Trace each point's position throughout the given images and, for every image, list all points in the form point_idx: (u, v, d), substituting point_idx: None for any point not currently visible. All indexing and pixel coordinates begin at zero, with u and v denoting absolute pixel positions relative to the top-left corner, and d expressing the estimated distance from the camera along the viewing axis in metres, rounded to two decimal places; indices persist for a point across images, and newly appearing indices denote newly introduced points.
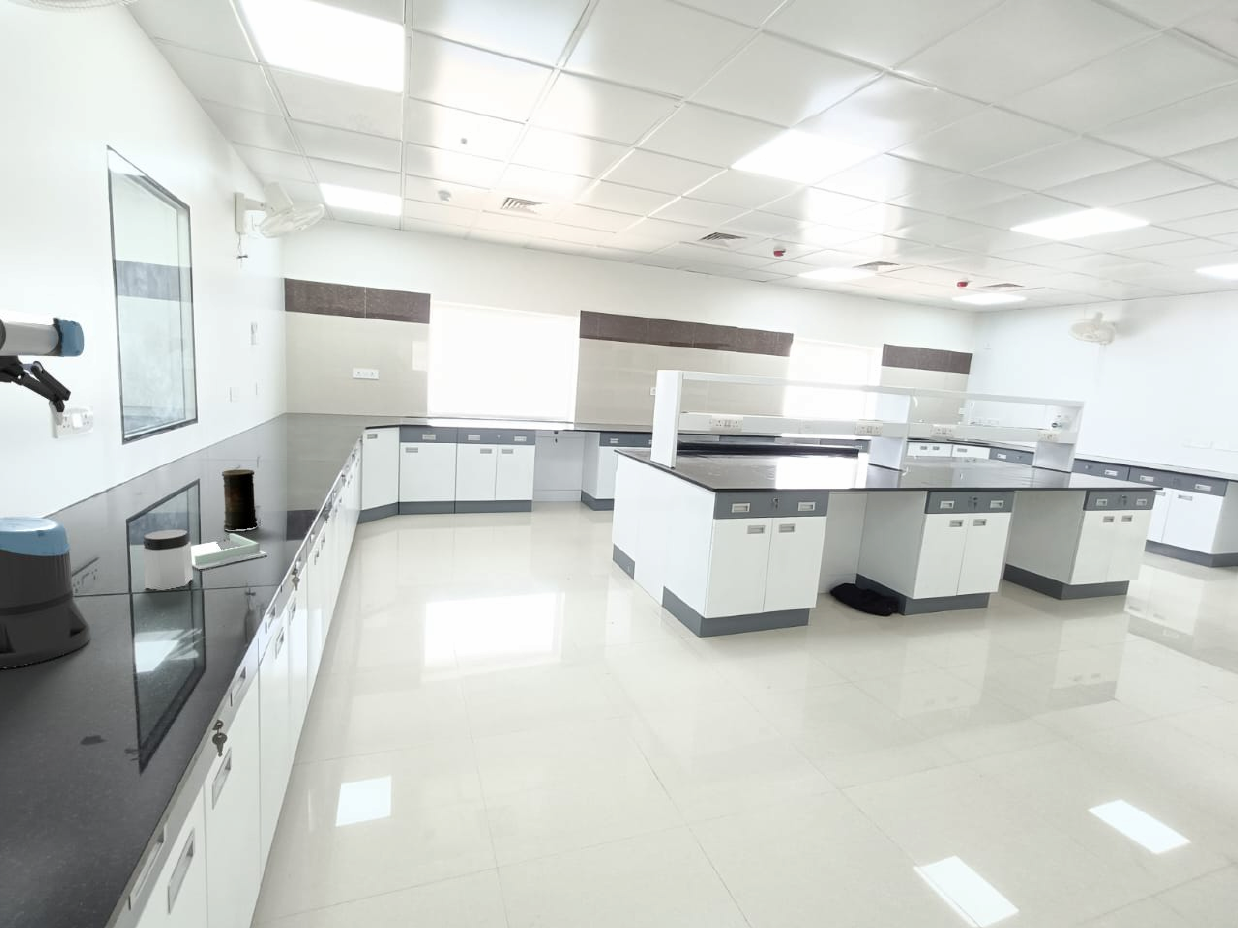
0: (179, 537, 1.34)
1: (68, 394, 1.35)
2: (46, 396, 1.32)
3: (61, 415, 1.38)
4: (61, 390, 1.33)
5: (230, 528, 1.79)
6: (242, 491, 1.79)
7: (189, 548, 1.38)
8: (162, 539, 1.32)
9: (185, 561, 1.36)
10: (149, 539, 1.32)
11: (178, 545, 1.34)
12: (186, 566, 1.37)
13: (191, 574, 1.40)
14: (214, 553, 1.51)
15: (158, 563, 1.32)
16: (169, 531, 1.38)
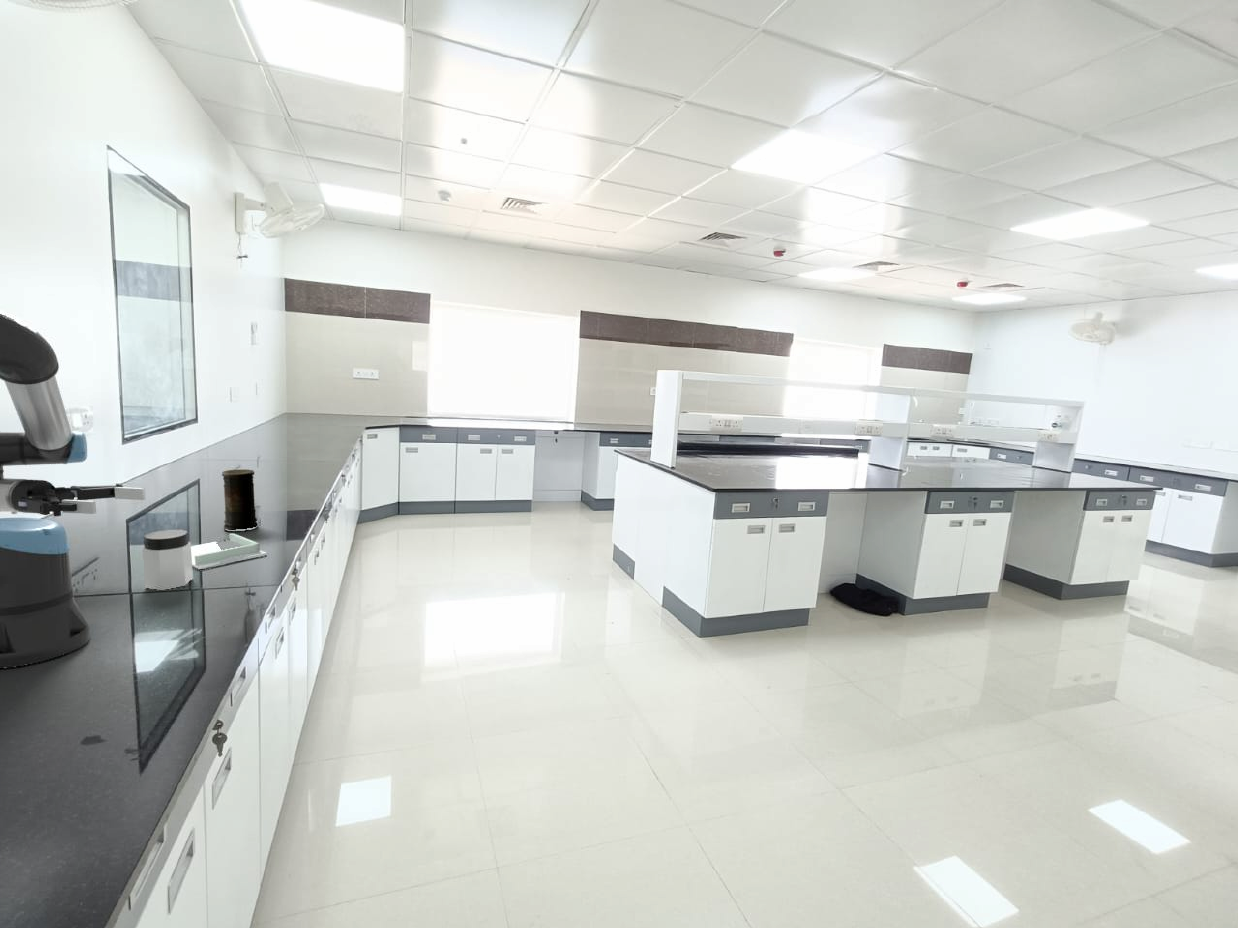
0: (179, 537, 1.35)
1: None
2: (106, 487, 1.40)
3: None
4: None
5: (230, 528, 1.79)
6: (242, 491, 1.79)
7: (189, 548, 1.38)
8: (162, 539, 1.32)
9: (185, 561, 1.36)
10: (149, 539, 1.32)
11: (178, 545, 1.34)
12: (186, 566, 1.37)
13: (191, 574, 1.40)
14: (214, 553, 1.51)
15: (158, 563, 1.32)
16: (169, 531, 1.38)
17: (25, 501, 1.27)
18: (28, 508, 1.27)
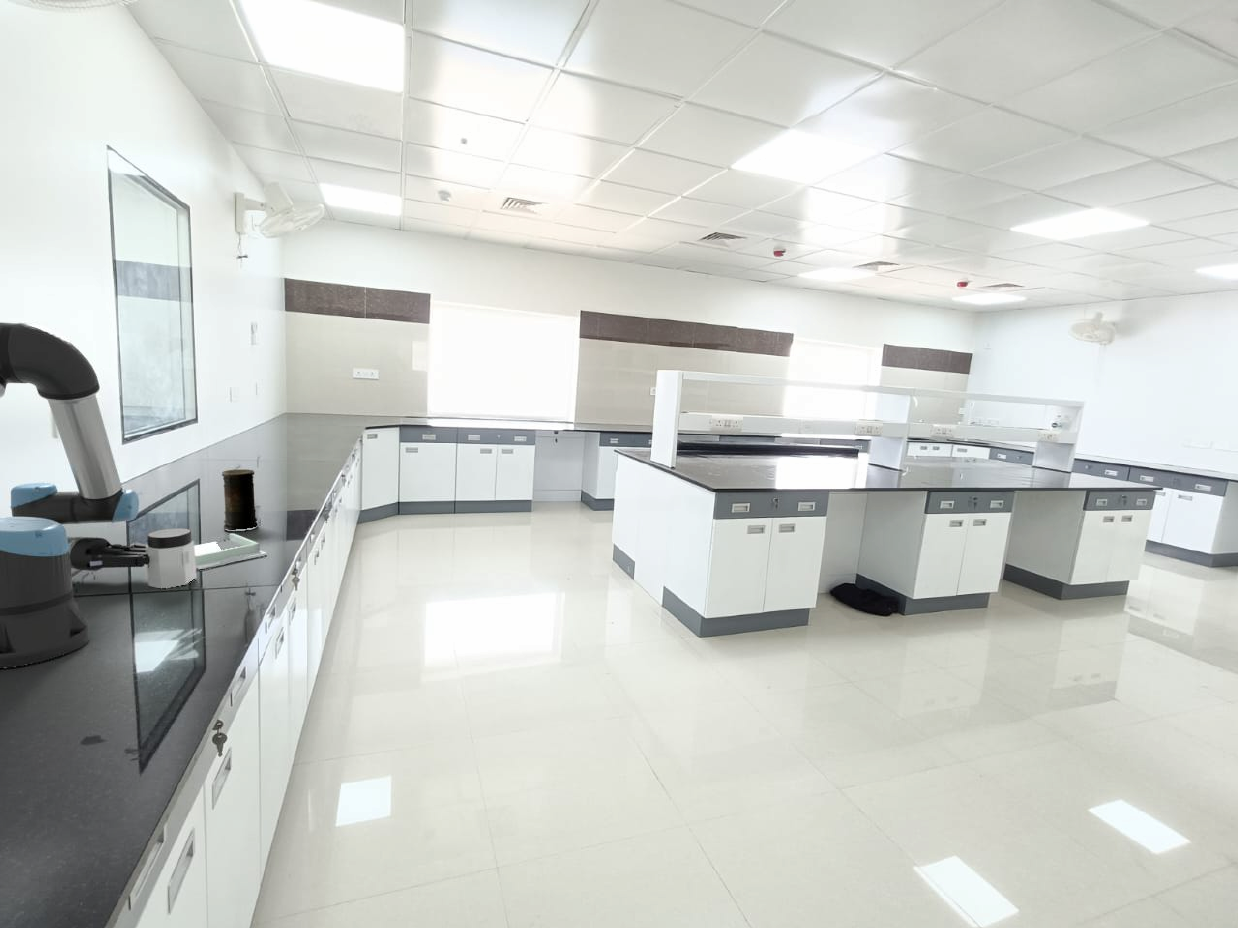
0: (179, 536, 1.35)
1: None
2: None
3: None
4: None
5: (230, 528, 1.79)
6: (242, 491, 1.79)
7: (191, 547, 1.39)
8: (162, 538, 1.33)
9: None
10: (150, 537, 1.33)
11: (178, 544, 1.35)
12: (187, 565, 1.37)
13: (194, 573, 1.40)
14: (214, 553, 1.51)
15: (158, 561, 1.33)
16: (174, 530, 1.39)
17: (102, 559, 1.31)
18: (107, 565, 1.31)
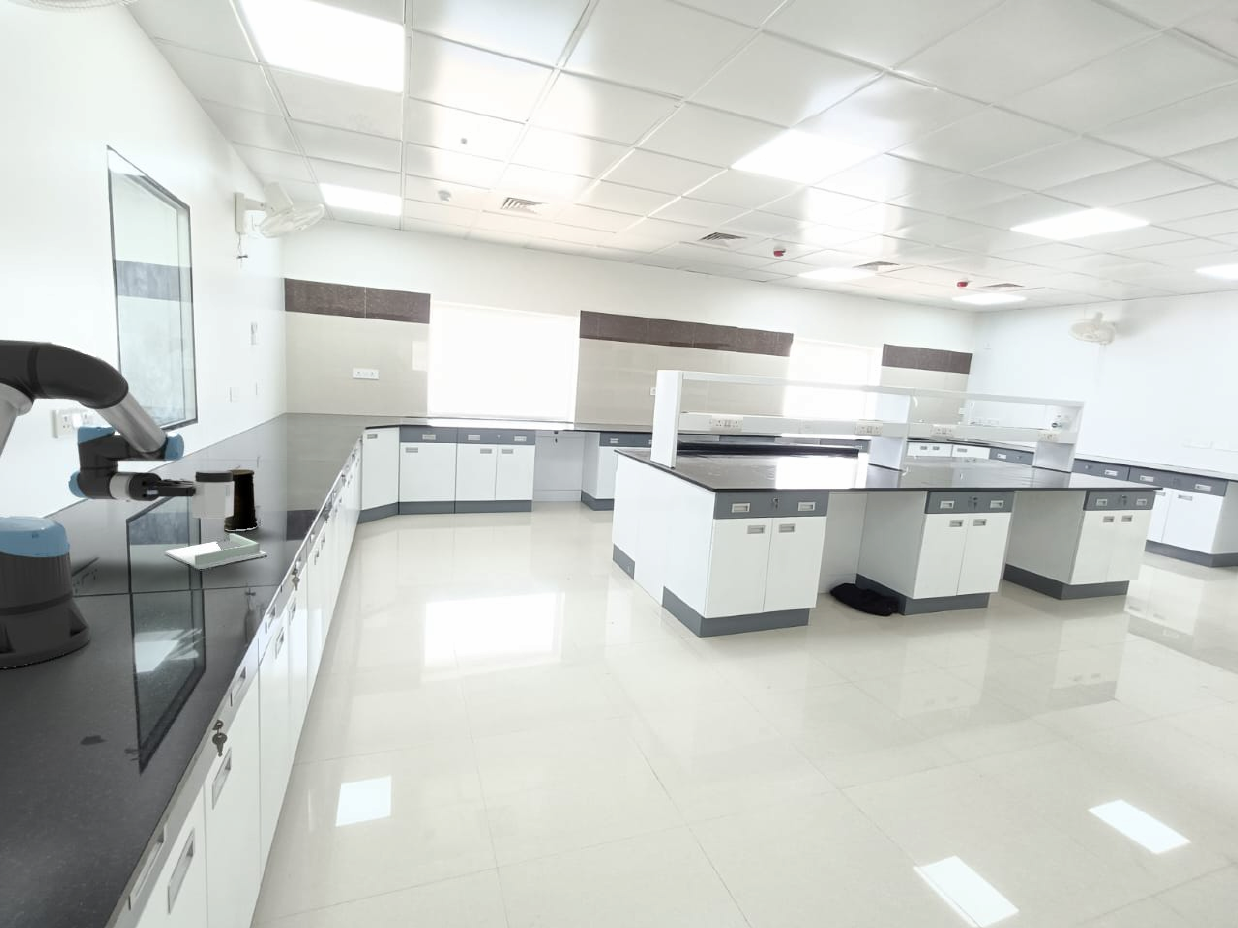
0: (223, 473, 1.55)
1: None
2: None
3: None
4: None
5: (230, 528, 1.79)
6: (242, 491, 1.79)
7: (232, 486, 1.58)
8: (209, 473, 1.53)
9: (226, 496, 1.56)
10: (199, 472, 1.53)
11: (222, 480, 1.55)
12: (227, 501, 1.56)
13: (232, 510, 1.59)
14: (214, 553, 1.51)
15: (203, 493, 1.52)
16: (218, 471, 1.59)
17: (157, 489, 1.50)
18: (162, 495, 1.51)
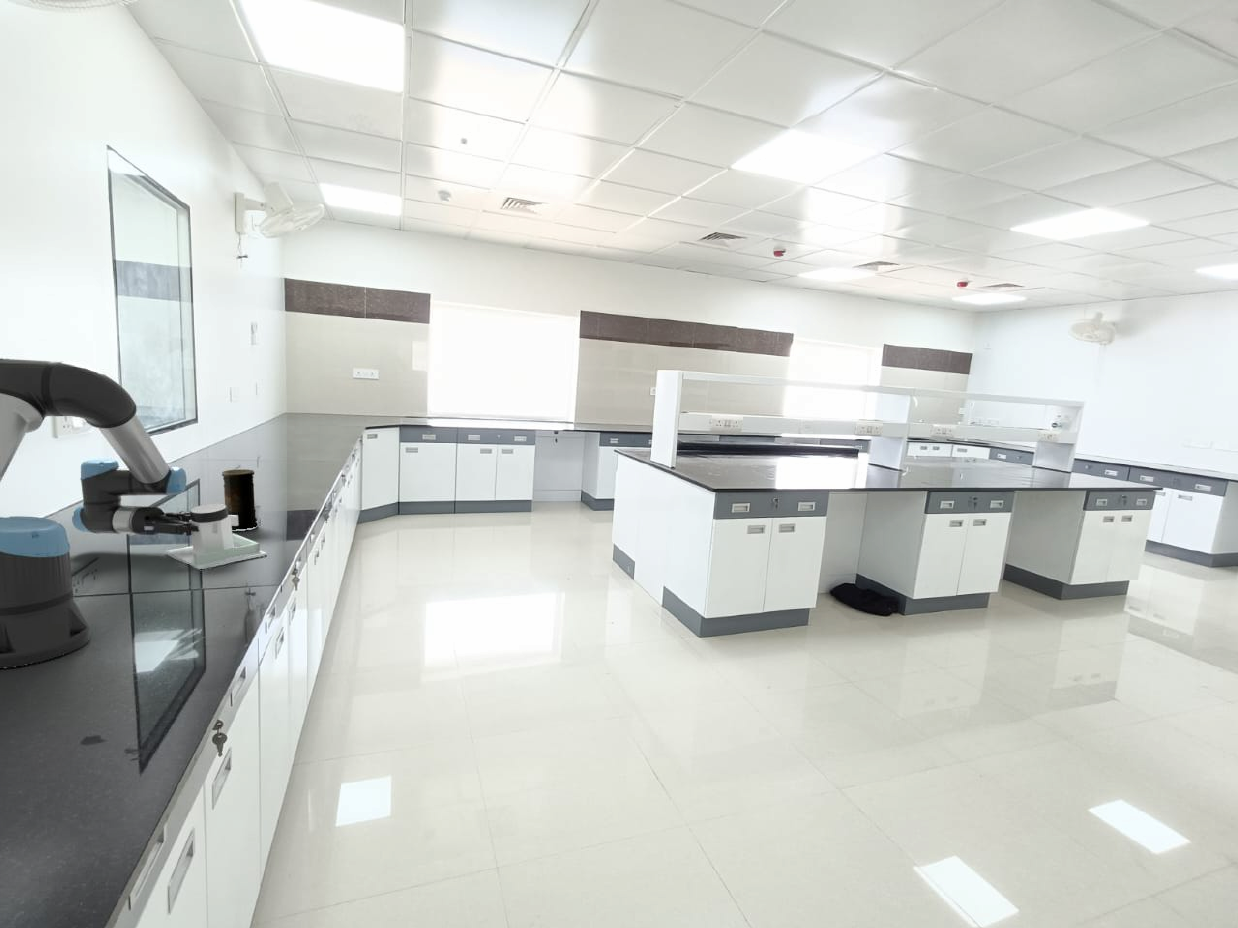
0: (217, 512, 1.53)
1: None
2: None
3: None
4: None
5: None
6: (242, 491, 1.79)
7: (228, 521, 1.57)
8: (202, 513, 1.52)
9: (223, 532, 1.55)
10: (193, 513, 1.52)
11: (217, 519, 1.54)
12: (225, 537, 1.56)
13: (231, 543, 1.59)
14: (214, 553, 1.51)
15: (200, 534, 1.52)
16: (212, 505, 1.57)
17: (153, 525, 1.51)
18: (156, 531, 1.51)
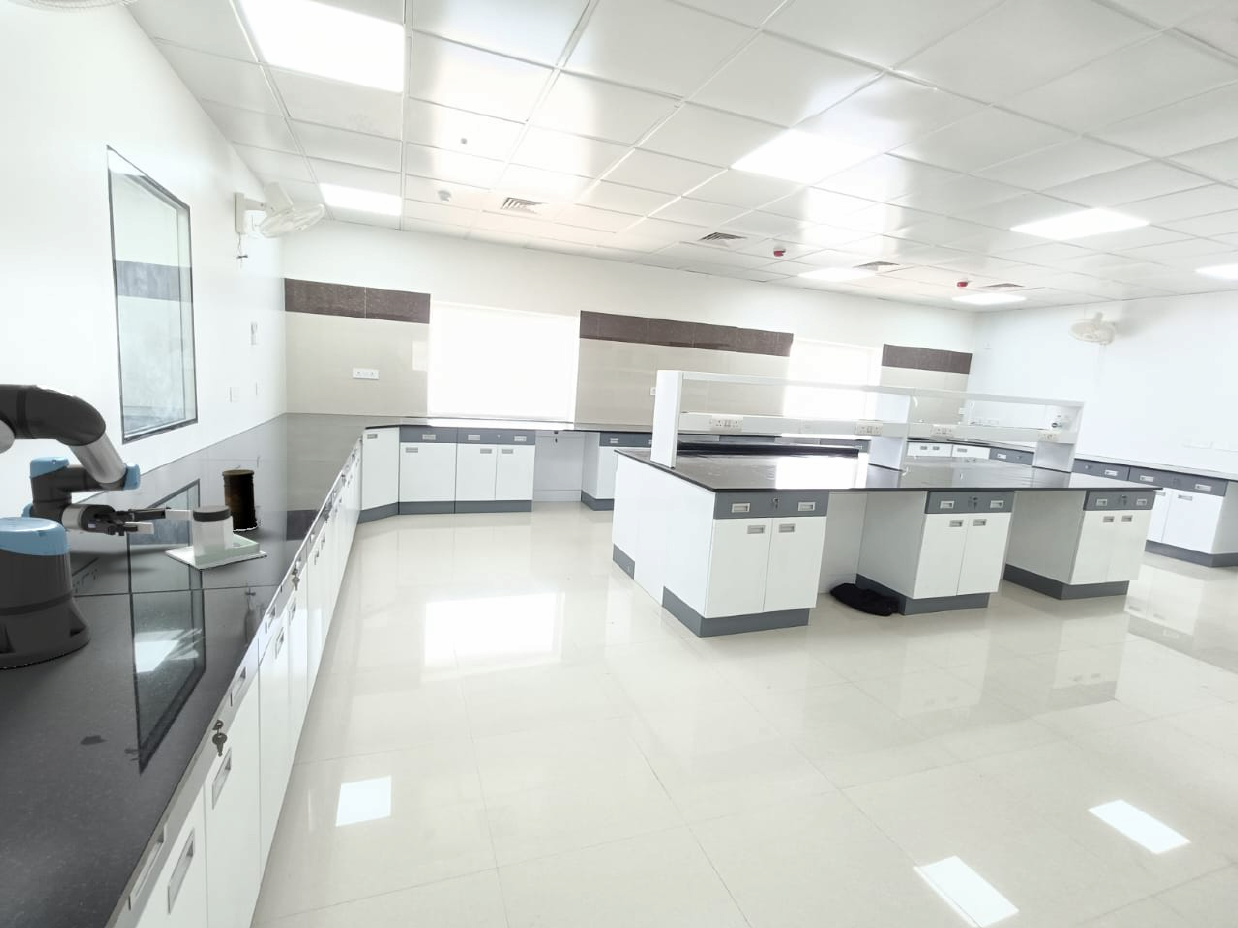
0: (220, 511, 1.55)
1: None
2: (158, 510, 1.63)
3: None
4: None
5: None
6: (242, 491, 1.79)
7: (230, 522, 1.58)
8: (206, 512, 1.53)
9: (225, 533, 1.56)
10: (196, 512, 1.53)
11: (219, 519, 1.55)
12: (226, 537, 1.57)
13: (232, 545, 1.60)
14: (214, 553, 1.51)
15: (202, 533, 1.53)
16: (215, 506, 1.58)
17: (94, 523, 1.50)
18: (96, 529, 1.50)
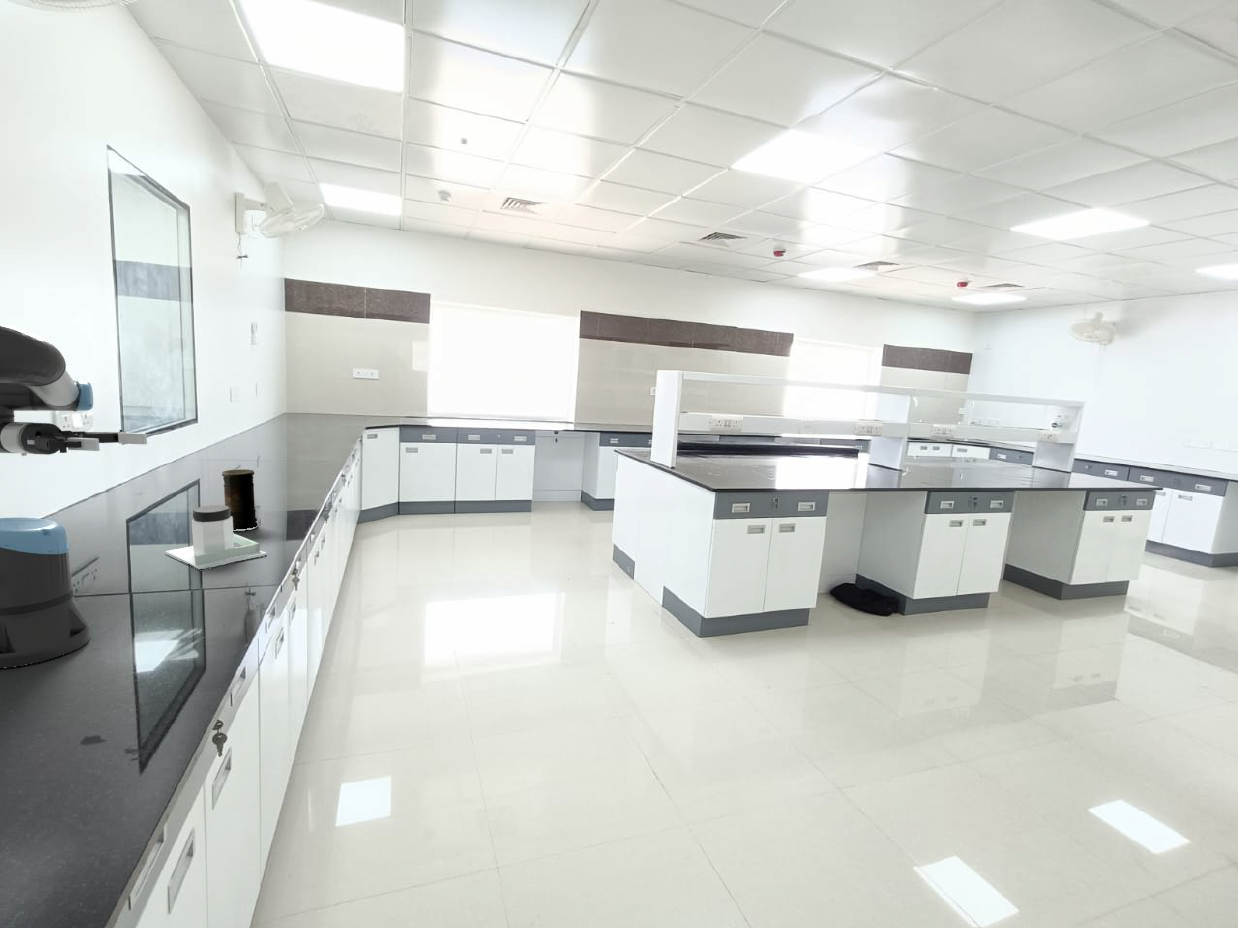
0: (220, 511, 1.55)
1: None
2: (110, 433, 1.48)
3: None
4: None
5: None
6: (242, 491, 1.79)
7: (230, 522, 1.58)
8: (206, 512, 1.53)
9: (225, 533, 1.56)
10: (196, 512, 1.53)
11: (219, 519, 1.55)
12: (226, 537, 1.57)
13: (232, 545, 1.60)
14: (214, 553, 1.51)
15: (202, 533, 1.53)
16: (215, 506, 1.58)
17: (33, 439, 1.35)
18: (36, 446, 1.35)
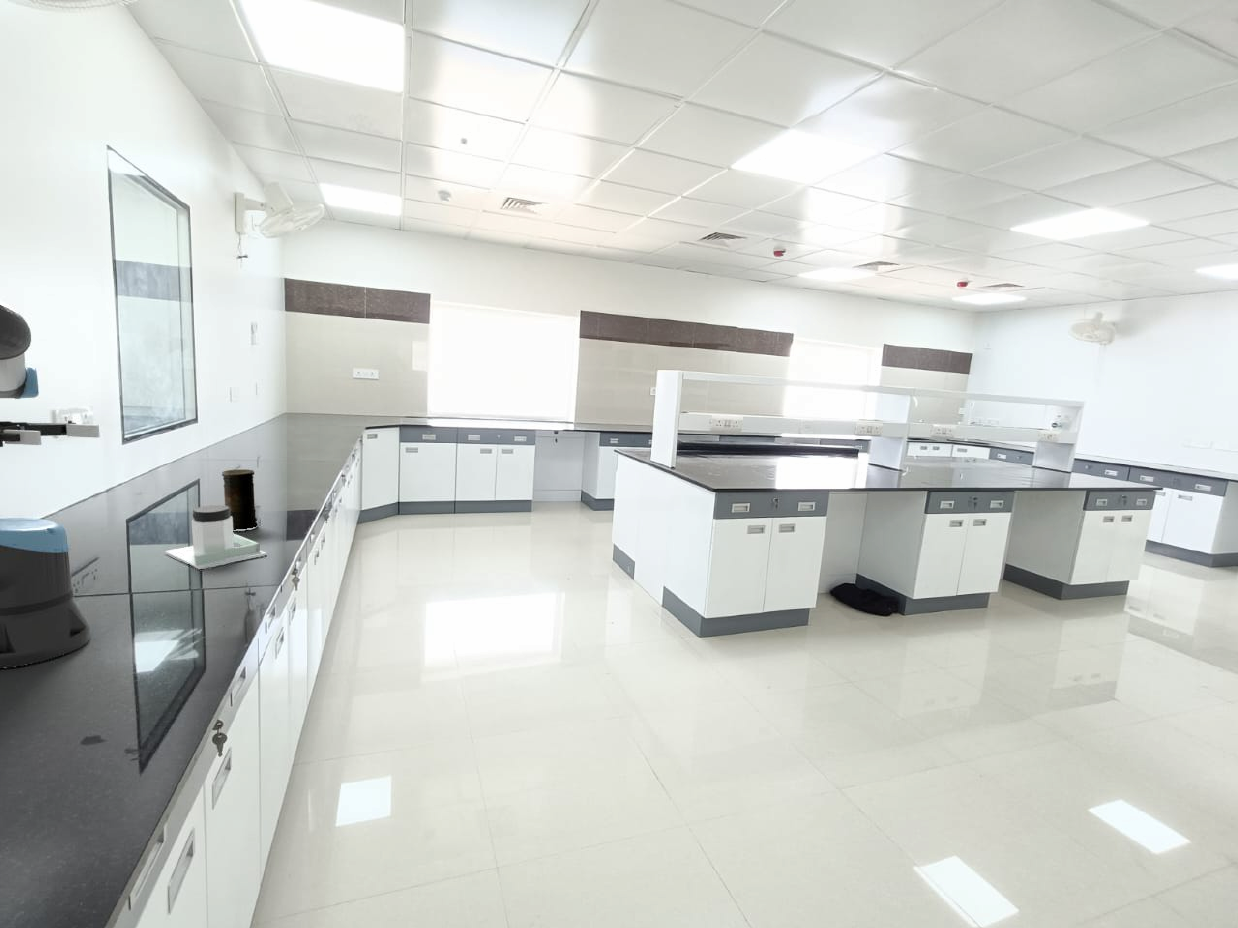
0: (220, 511, 1.55)
1: None
2: (57, 424, 1.31)
3: None
4: None
5: None
6: (242, 491, 1.79)
7: (230, 522, 1.58)
8: (206, 512, 1.53)
9: (225, 533, 1.56)
10: (196, 512, 1.53)
11: (219, 519, 1.55)
12: (226, 537, 1.57)
13: (232, 545, 1.60)
14: (214, 553, 1.51)
15: (202, 533, 1.53)
16: (215, 506, 1.58)
17: None
18: None
